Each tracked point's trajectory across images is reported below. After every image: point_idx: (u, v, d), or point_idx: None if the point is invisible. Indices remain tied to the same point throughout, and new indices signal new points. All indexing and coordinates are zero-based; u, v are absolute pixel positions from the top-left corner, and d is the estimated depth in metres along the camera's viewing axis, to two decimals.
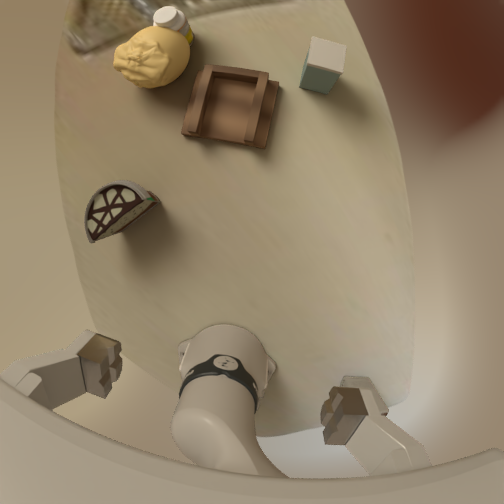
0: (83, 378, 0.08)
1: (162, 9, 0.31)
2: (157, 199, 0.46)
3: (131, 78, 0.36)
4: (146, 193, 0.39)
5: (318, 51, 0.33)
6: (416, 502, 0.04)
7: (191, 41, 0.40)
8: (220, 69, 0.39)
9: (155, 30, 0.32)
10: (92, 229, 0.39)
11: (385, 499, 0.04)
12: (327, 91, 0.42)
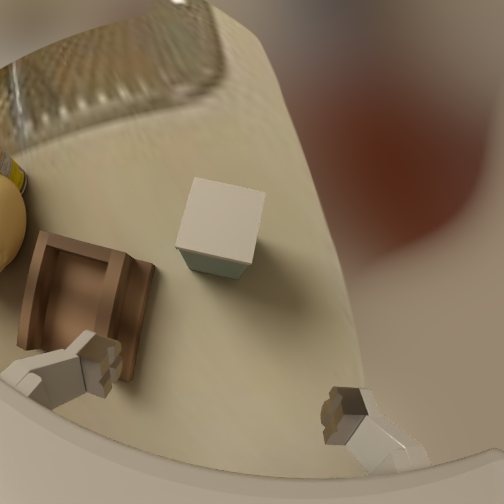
0: (83, 378, 0.08)
1: None
2: None
3: None
4: None
5: (202, 214, 0.19)
6: (416, 502, 0.04)
7: (23, 181, 0.27)
8: (56, 243, 0.23)
9: None
10: None
11: (385, 499, 0.04)
12: (236, 277, 0.27)
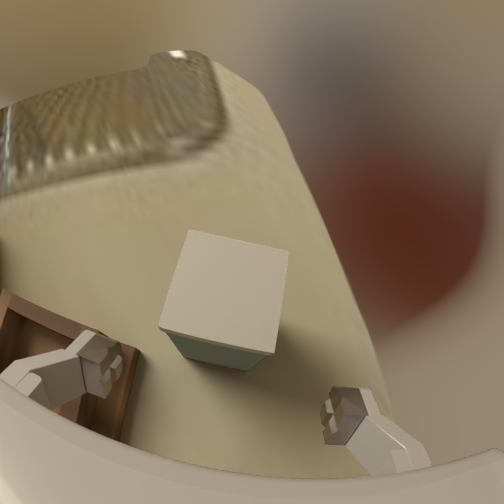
0: (82, 378, 0.08)
1: None
2: None
3: None
4: None
5: (199, 281, 0.13)
6: (416, 502, 0.04)
7: None
8: (18, 307, 0.16)
9: None
10: None
11: (385, 499, 0.04)
12: (245, 368, 0.20)
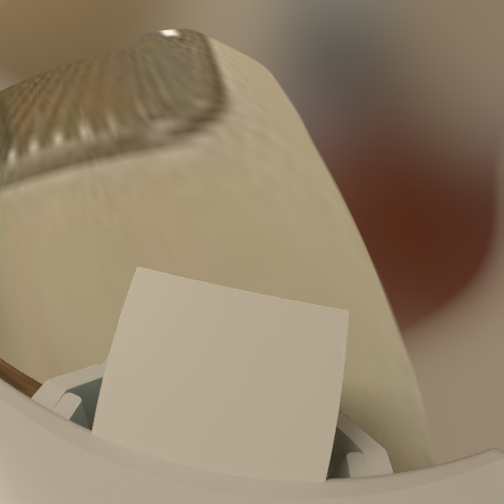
0: None
1: None
2: None
3: None
4: None
5: (157, 388, 0.05)
6: (416, 502, 0.04)
7: None
8: None
9: None
10: None
11: (385, 499, 0.04)
12: None
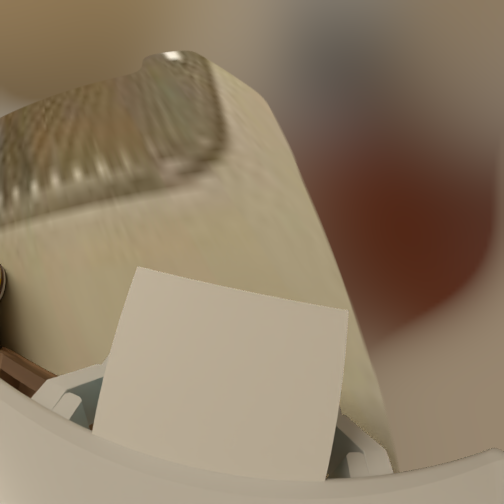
0: None
1: None
2: None
3: None
4: None
5: (157, 388, 0.05)
6: (416, 502, 0.04)
7: None
8: (11, 370, 0.14)
9: None
10: None
11: (385, 499, 0.04)
12: None
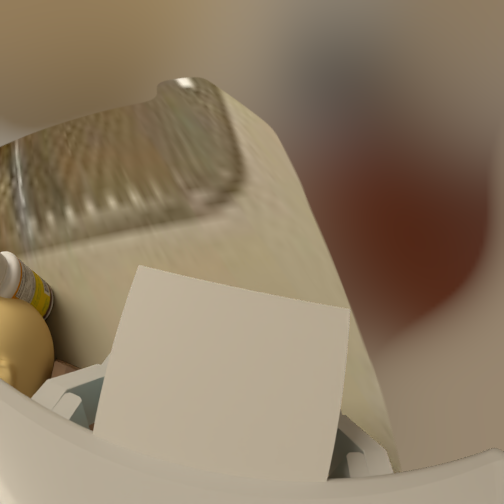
0: None
1: None
2: None
3: None
4: None
5: (158, 387, 0.05)
6: (416, 502, 0.04)
7: (49, 304, 0.25)
8: None
9: None
10: None
11: (385, 499, 0.04)
12: None
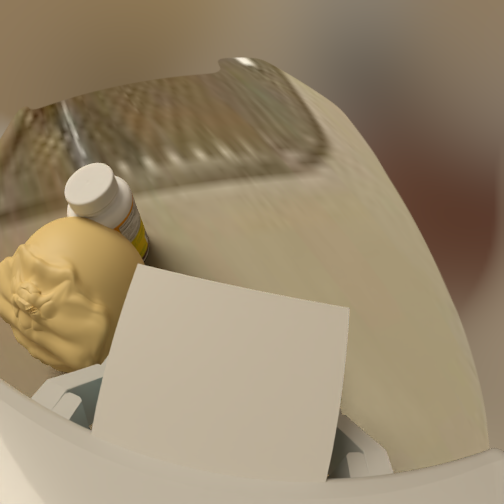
0: None
1: (84, 170, 0.18)
2: None
3: (31, 353, 0.14)
4: None
5: (157, 386, 0.05)
6: (416, 502, 0.04)
7: (145, 253, 0.25)
8: None
9: (68, 229, 0.16)
10: None
11: (385, 499, 0.04)
12: None
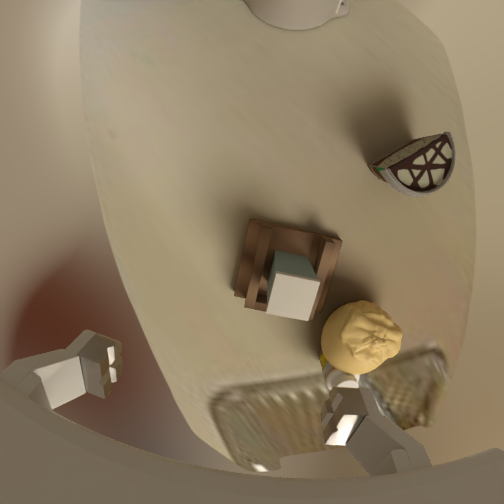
0: (83, 378, 0.08)
1: None
2: (371, 168, 0.38)
3: (383, 316, 0.38)
4: (384, 175, 0.32)
5: (304, 300, 0.33)
6: (416, 502, 0.04)
7: (321, 352, 0.47)
8: None
9: (355, 370, 0.38)
10: (446, 146, 0.29)
11: (385, 499, 0.04)
12: (276, 252, 0.41)
